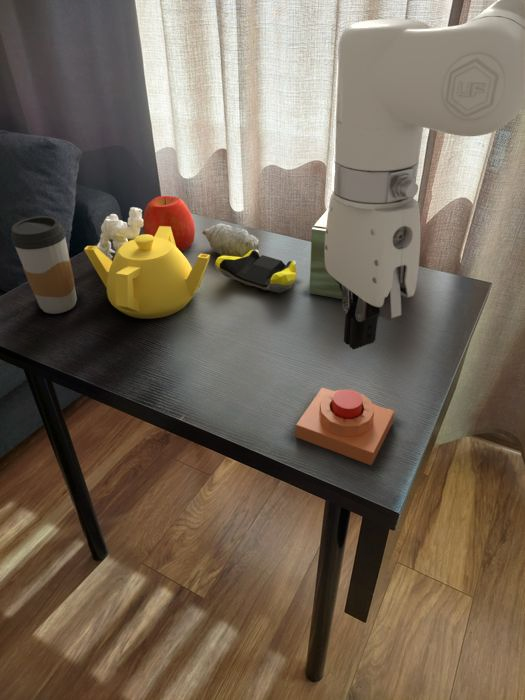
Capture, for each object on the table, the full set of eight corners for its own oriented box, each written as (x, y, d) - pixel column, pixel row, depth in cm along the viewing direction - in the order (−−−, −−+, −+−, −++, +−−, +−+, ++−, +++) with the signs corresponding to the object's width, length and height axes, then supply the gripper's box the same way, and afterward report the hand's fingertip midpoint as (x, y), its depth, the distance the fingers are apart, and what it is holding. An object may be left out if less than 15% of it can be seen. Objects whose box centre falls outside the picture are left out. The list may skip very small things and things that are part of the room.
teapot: (126, 336, 84) (111, 270, 77) (92, 293, 96) (77, 232, 89) (217, 305, 92) (212, 242, 84) (176, 268, 103) (168, 210, 96)
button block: (392, 423, 68) (396, 400, 65) (371, 465, 62) (375, 442, 60) (321, 399, 72) (322, 376, 69) (295, 437, 66) (296, 414, 64)
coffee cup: (63, 288, 97) (41, 211, 89) (93, 301, 93) (73, 221, 85) (24, 308, 92) (-3, 228, 83) (53, 322, 88) (28, 240, 79)
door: (384, 324, 86) (394, 255, 78) (300, 307, 90) (301, 241, 83) (391, 306, 90) (401, 239, 83) (310, 291, 94) (313, 227, 87)
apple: (135, 246, 111) (127, 197, 105) (176, 230, 117) (170, 183, 111) (166, 262, 105) (158, 211, 99) (207, 244, 111) (203, 195, 105)
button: (365, 405, 65) (367, 394, 64) (355, 423, 63) (356, 412, 62) (338, 396, 67) (339, 385, 65) (327, 413, 64) (328, 402, 63)
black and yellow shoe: (280, 308, 90) (309, 283, 97) (280, 280, 87) (310, 256, 94) (212, 285, 97) (243, 263, 104) (209, 258, 94) (242, 238, 100)
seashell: (215, 226, 112) (217, 198, 105) (261, 264, 108) (267, 238, 101) (193, 241, 109) (194, 214, 102) (240, 281, 106) (245, 255, 99)
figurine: (154, 263, 105) (144, 205, 98) (144, 275, 101) (134, 216, 94) (106, 259, 107) (93, 202, 99) (95, 271, 103) (81, 212, 95)
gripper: (464, 195, 44) (431, 368, 55) (359, 153, 55) (348, 303, 65) (393, 214, 41) (372, 391, 52) (297, 165, 52) (296, 320, 63)
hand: (359, 342), depth 59 cm, fingers closed
